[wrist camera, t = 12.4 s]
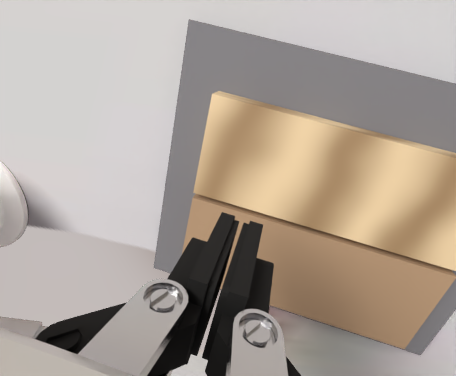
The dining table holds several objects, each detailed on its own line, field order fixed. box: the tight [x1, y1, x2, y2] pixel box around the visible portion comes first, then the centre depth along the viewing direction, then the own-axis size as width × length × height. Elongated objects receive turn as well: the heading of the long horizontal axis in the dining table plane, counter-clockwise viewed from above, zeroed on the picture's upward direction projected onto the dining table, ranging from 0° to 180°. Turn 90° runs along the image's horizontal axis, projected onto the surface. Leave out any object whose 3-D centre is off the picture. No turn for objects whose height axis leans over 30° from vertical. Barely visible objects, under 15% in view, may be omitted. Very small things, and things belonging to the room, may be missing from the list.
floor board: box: [154, 20, 456, 355], centre depth 23 cm, size 26×22×3 cm
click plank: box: [193, 91, 456, 271], centre depth 22 cm, size 20×8×2 cm, turn 77°
